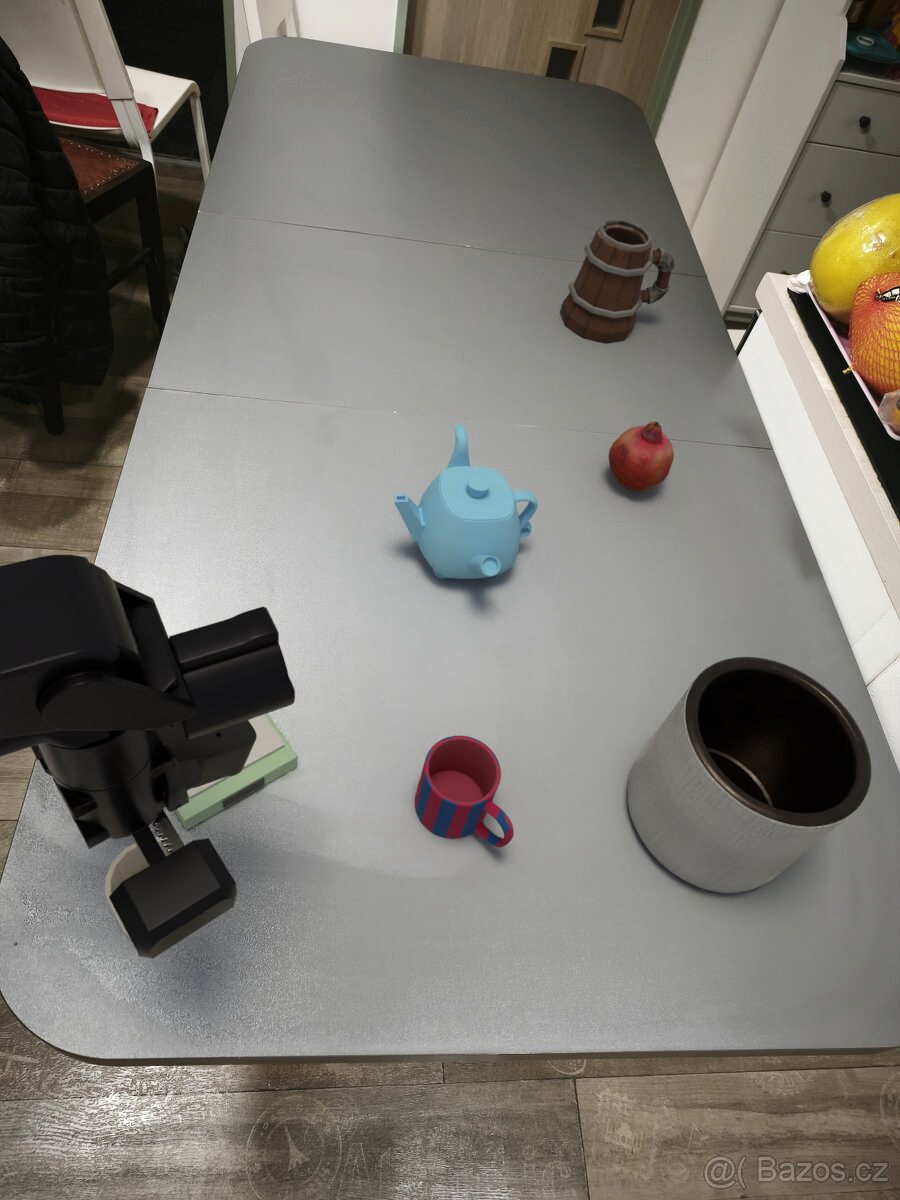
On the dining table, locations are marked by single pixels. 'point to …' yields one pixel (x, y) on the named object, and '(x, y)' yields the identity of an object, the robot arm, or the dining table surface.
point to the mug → (614, 282)
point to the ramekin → (126, 870)
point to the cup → (461, 790)
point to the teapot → (468, 518)
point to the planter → (747, 775)
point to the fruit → (641, 457)
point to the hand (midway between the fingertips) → (140, 852)
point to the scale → (242, 774)
